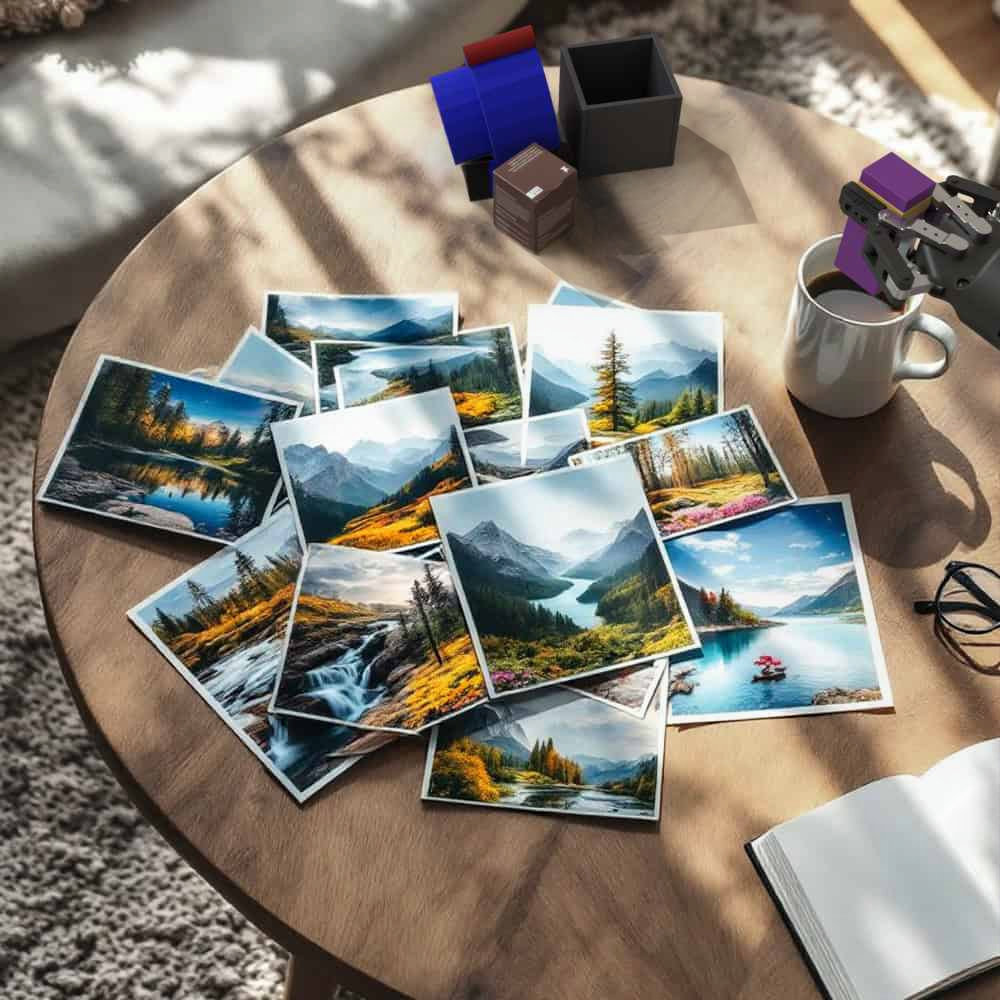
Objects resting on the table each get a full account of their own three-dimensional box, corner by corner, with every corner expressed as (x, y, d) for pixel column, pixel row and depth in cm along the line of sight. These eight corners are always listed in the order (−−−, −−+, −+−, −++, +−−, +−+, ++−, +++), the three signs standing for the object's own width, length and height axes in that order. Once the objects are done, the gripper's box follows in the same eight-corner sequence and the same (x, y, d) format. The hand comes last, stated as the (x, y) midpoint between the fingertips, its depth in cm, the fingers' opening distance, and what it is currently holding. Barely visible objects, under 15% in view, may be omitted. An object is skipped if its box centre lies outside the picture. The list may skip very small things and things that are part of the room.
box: (534, 196, 128) (535, 140, 122) (576, 225, 126) (579, 170, 120) (491, 226, 126) (490, 170, 120) (534, 256, 123) (535, 201, 117)
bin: (649, 102, 136) (657, 33, 129) (673, 165, 130) (683, 96, 123) (557, 114, 135) (560, 45, 128) (578, 178, 130) (582, 110, 122)
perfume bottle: (860, 246, 101) (891, 150, 93) (902, 278, 99) (938, 182, 91) (832, 265, 100) (861, 169, 92) (873, 297, 98) (907, 202, 90)
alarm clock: (565, 185, 129) (571, 63, 116) (449, 204, 127) (443, 83, 115) (537, 109, 135) (539, -14, 123) (426, 127, 134) (417, 4, 122)
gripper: (1128, 229, 86) (937, 101, 94) (995, 325, 82) (805, 183, 89) (1086, 303, 93) (911, 177, 100) (961, 396, 88) (786, 257, 96)
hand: (862, 181), depth 95 cm, fingers closed on perfume bottle, 3 cm apart
